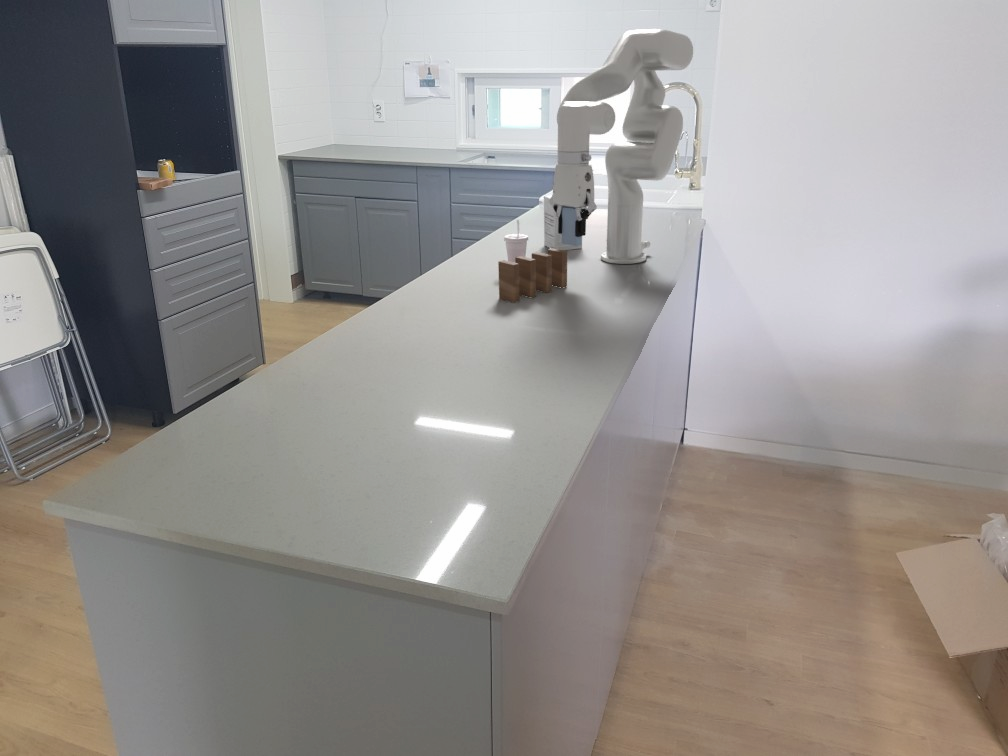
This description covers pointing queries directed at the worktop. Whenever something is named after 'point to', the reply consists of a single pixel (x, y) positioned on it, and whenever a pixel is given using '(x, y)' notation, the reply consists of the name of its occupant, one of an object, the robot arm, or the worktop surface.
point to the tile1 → (569, 227)
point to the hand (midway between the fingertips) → (571, 233)
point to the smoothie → (516, 244)
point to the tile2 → (558, 267)
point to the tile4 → (527, 276)
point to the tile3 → (543, 271)
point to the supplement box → (553, 229)
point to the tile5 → (508, 281)
